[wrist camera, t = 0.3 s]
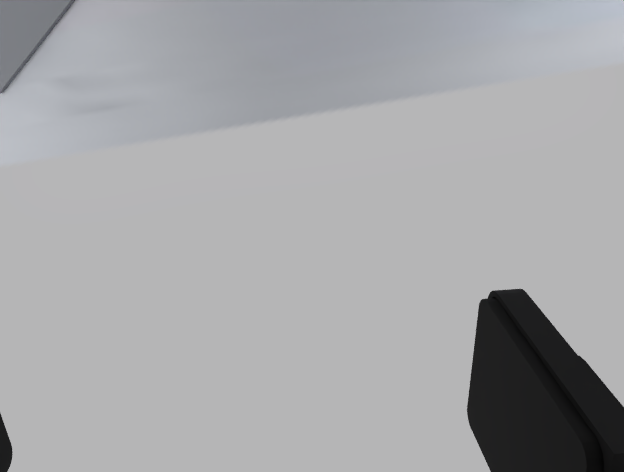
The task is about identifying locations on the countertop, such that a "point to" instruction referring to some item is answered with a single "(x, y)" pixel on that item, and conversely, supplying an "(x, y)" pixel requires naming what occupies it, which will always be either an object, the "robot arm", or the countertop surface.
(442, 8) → the countertop surface
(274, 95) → the countertop surface
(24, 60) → the charcoal mat
